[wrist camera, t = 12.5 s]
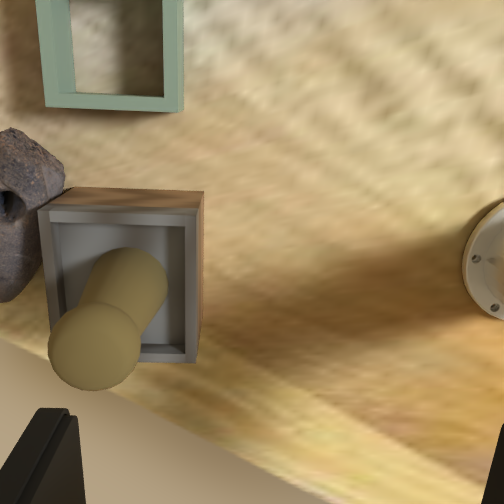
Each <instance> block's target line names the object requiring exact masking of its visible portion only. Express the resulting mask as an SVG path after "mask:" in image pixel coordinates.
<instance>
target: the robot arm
mask: <svg viewBox="0 0 504 504" xmlns="http://www.w3.org/2000/svg"><path fill="white" fill-rule="evenodd" d="M473 256H474V257H473ZM462 274H463V280H464V284H465V286H466V289H467V291H468V293H469V294H470V296H471V297H472V299H473V300H474V301H475V302H476V303H477V304H478V305H479V306H480V307H481V308H482V309H483V310H484V311H486V312H487V313H488V314H490V315H492V316H494V317H496V318H499V319H501V320H504V202H502V203H500V204H499V205H498V206H496V207H495V208H494V209H492V210H491V211H490V212H489V213H488V214H487V215H486V216H485V217H484V218H483V219H482V220H481V221H480V222H479V223H478V225H477V226H476V228H475V229H474V231H473V232H472V234H471V236H470V238H469V240H468V242H467V244H466V247H465V251H464V255H463V260H462ZM0 504H86V500H85V490H84V478H83V469H82V457H81V447H80V437H79V426H78V418H77V416H72V415H71V416H70V413H69V411H68V409H66V408H40V409H38V410H37V411H36V413H35V414H34V416H33V418H32V419H31V421H30V423H29V424H28V426H27V427H26V429H25V431H24V432H23V434H22V435H21V437H20V439H19V440H18V442H17V444H16V445H15V447H14V448H13V450H12V452H11V453H10V455H9V457H8V458H7V460H6V462H5V463H4V465H3V466H2V468H1V470H0ZM481 504H504V424H503V425H502V427H501V431H500V434H499V438H498V442H497V446H496V450H495V453H494V457H493V461H492V465H491V468H490V472H489V476H488V480H487V484H486V487H485V491H484V495H483V499H482V503H481Z"/></svg>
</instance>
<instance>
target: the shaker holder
mask: <svg viewBox="0 0 504 504" xmlns="http://www.w3.org/2000/svg"><path fill="white" fill-rule="evenodd" d="M35 3H36V13H37V23H38V34H39V44H40V54H41V65H42V75H43V85H44V96H45V106H46V107H59V108H82V109H106V110H129V111H153V112H176V113H178V112H180V111H182V110H184V43H183V0H162V6H163V62H164V96H150V95H127V94H104V93H82V92H76V85H75V72H74V59H73V46H72V33H71V20H70V6H69V0H35Z"/></svg>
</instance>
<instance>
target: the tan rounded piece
mask: <svg viewBox="0 0 504 504" xmlns="http://www.w3.org/2000/svg"><path fill="white" fill-rule="evenodd" d="M168 286H169V282H168V278H167V274H166V271H165V270H164V268H163V267H162V265H161V263H160V262H159V261H158V260H157V259H156V258H154V257H153V256H152V255H151V254H150V253H147V252H145V251H143V250H140V249H138V248H130V247H122V248H117V249H112V250H110V251H109V252H107V253H105V254H103V255H102V256H101V257H100V258H99V259H98V260H97V261H96V262H95V264H94V266H93V268H92V271H91V273H90V276H89V278H88V281H87V283H86V286H85V288H84V291H83V293H82V296H81V298H80V301H79V303H78V306H77V307H75V308H74V309H72V310H70V311H68V312H66V313H65V314H64V315H63V316H62V317H61V318H60V320H59V321H58V322H57V323H56V324H55V325H54V327H53V329H52V332H51V334H50V337H49V341H48V357H49V359H50V362H51V365H52V367H53V370H54V371H55V372H56V374H57V375H58V376H59V377H60V378H61V379H62V380H63V381H65V382H66V383H67V384H69V385H70V386H72V387H75V388H78V389H81V390H87V391H98V390H104V389H109V388H111V387H113V386H115V385H117V384H119V383H121V382H122V381H123V380H124V379H125V378H126V377H127V376H128V375H129V374H130V373H131V372H132V371H133V370H134V368H135V365H136V363H137V361H138V359H139V356H140V348H141V338H140V336H141V335H142V333H143V332H144V331H145V329H146V328H147V326H148V325H149V323H150V322H151V321H152V319H153V318H154V316H155V315H156V313H157V312H158V311H159V309H160V308H161V306H162V305H163V303H164V301H165V299H166V297H167V295H168Z"/></svg>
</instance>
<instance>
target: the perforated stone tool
mask: <svg viewBox="0 0 504 504" xmlns="http://www.w3.org/2000/svg"><path fill="white" fill-rule="evenodd" d="M64 181H65V174H64V167H63V164H62V163H61V162H60V161H59V160H57V159H56V157H55V156H53V155H51V154H50V153H49V152H48V151H47V150H45V149H44V148H43V147H42V146H40V145H39V144H38V143H37V142H35V141H34V140H32V139H30V138H29V137H27V136H26V135H25V134H24V133H23V132H22V131H20V130H17V129H14V128H12V127H10V129H7V130H5V131H2V132H0V303H3V302H9V301H11V300H12V299H14V298H15V297H16V296H17V295H18V294H19V293H20V292H21V291H22V290H23V289H24V288H25V287H26V285H27V284H28V283H29V281H30V280H31V279H32V277H33V276H34V274H35V273H36V271H37V269H38V268H39V266H40V263H41V261H42V259H43V258H42V249H41V240H40V231H39V222H38V213H37V210H39V209H40V208H42V207H44V206H45V205H47V204H48V203H50V202H52V201H53V200H55V199H56V198H58V197H60V196H61V194H62V191H63V187H64Z"/></svg>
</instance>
